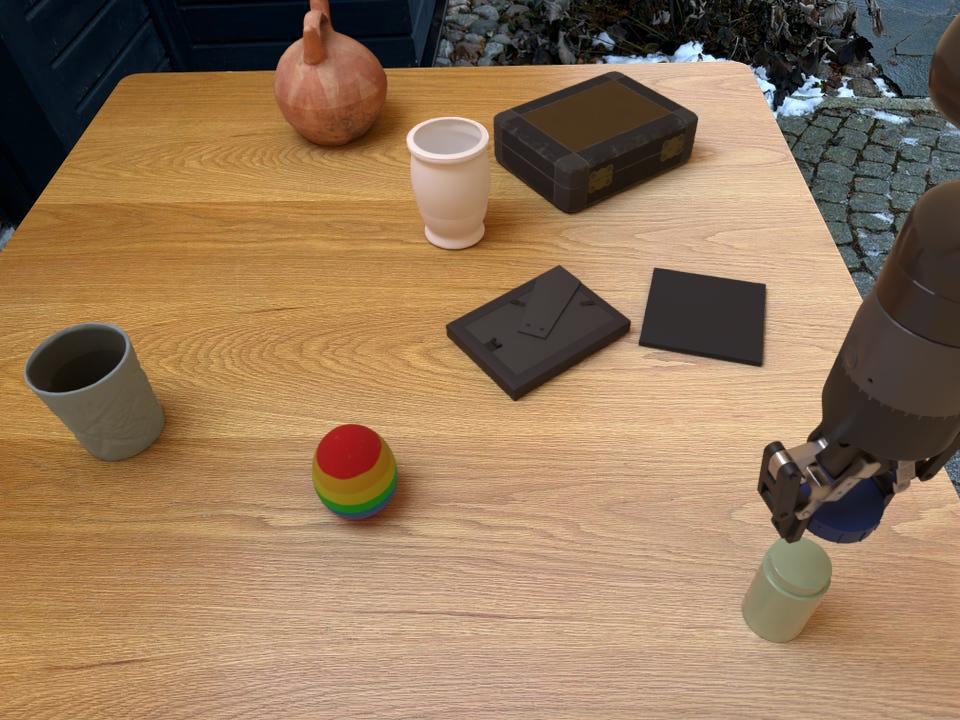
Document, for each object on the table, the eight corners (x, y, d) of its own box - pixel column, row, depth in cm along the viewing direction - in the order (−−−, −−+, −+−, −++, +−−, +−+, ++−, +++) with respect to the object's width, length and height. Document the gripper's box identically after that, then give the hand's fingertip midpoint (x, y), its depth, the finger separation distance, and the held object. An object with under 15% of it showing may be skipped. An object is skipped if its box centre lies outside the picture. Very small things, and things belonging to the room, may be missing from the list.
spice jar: (802, 593, 67) (835, 539, 60) (804, 649, 63) (838, 599, 57) (742, 580, 68) (767, 526, 61) (740, 634, 64) (766, 583, 58)
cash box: (609, 109, 127) (613, 65, 122) (695, 160, 115) (704, 114, 110) (488, 157, 118) (486, 111, 113) (567, 218, 106) (570, 171, 101)
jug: (386, 156, 120) (368, 30, 105) (275, 159, 120) (241, 35, 106) (396, 100, 132) (381, -19, 118) (295, 103, 133) (268, -15, 118)
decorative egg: (323, 465, 78) (304, 404, 71) (401, 459, 79) (389, 397, 71) (317, 534, 73) (295, 475, 65) (401, 527, 73) (388, 468, 66)
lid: (806, 547, 51) (813, 535, 50) (777, 476, 55) (783, 463, 54) (891, 540, 51) (899, 528, 50) (855, 469, 55) (863, 457, 54)
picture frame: (558, 276, 98) (446, 335, 91) (558, 262, 96) (445, 322, 89) (629, 332, 90) (514, 401, 83) (632, 318, 89) (514, 388, 82)
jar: (402, 239, 105) (389, 143, 94) (446, 202, 110) (438, 108, 99) (464, 265, 100) (457, 167, 89) (506, 225, 106) (505, 129, 95)
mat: (764, 288, 95) (766, 283, 94) (760, 367, 86) (762, 362, 85) (653, 271, 98) (654, 267, 97) (638, 345, 89) (639, 341, 88)
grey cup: (181, 440, 81) (140, 366, 73) (86, 483, 78) (31, 410, 69) (155, 383, 87) (115, 307, 79) (66, 420, 84) (14, 346, 75)
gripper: (839, 442, 38) (762, 593, 51) (1074, 381, 41) (945, 540, 53) (763, 343, 43) (710, 502, 56) (976, 294, 46) (879, 457, 58)
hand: (825, 520), depth 54 cm, fingers closed on lid, 5 cm apart
